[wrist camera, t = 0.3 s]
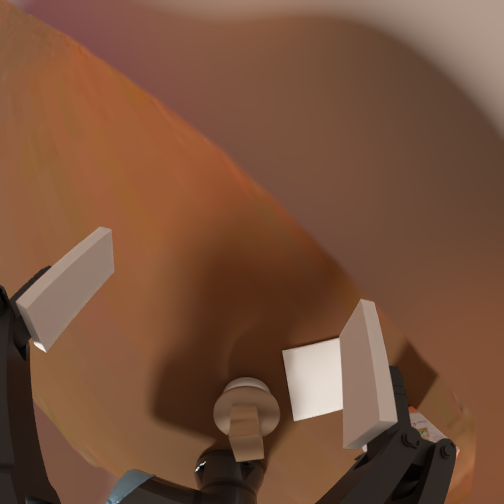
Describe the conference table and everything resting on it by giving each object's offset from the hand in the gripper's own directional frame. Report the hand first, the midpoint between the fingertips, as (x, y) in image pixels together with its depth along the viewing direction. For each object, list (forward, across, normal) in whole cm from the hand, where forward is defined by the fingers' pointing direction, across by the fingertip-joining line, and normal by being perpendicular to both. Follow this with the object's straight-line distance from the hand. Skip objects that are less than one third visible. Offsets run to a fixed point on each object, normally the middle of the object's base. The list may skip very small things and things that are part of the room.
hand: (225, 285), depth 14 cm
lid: (+11, -6, +35) cm, 38 cm away
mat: (+21, -20, +33) cm, 44 cm away
